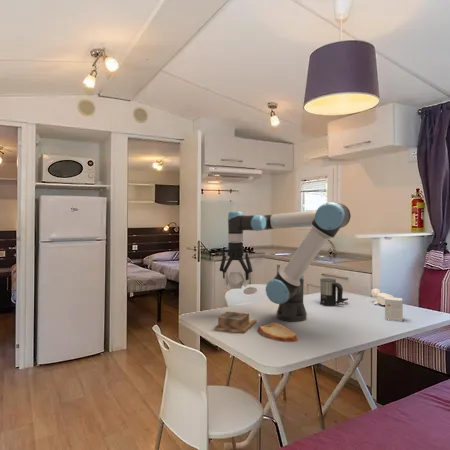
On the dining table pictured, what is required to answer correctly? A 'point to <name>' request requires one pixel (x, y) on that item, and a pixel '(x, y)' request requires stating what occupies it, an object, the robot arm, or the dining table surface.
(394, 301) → the small box
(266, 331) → the slice of bread
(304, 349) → the dining table surface
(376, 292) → the cream doll figurine
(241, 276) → the die
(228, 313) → the wooden box on base
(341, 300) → the milk frother
